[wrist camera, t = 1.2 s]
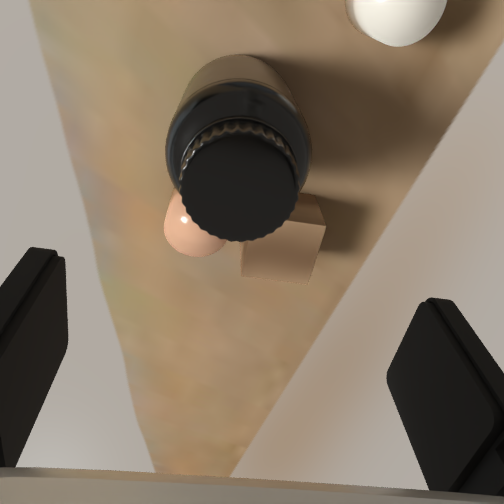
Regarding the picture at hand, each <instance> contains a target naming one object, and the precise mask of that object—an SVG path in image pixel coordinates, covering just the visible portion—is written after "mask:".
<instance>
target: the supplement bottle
mask: <svg viewBox="0 0 504 504" xmlns="http://www.w3.org/2000/svg"><path fill="white" fill-rule="evenodd" d="M165 157H166V165H167V169H168V173H169V176H170V178H171V181H172V183H173V185H174V187H175V188H176V190H177V191H178V193H179V194H180V195H181V197H182V204H183V205H184V206H185V207H186V213H187V214H188V215H190V216H191V219H192V222H194V223H196V224H197V225H198V226H199V228H200V229H201V230H204V231H207V233H208V234H209V235H212V236H216V237H218V238H219V239H226V240H228V241H231V242H232V241H239V242H244V241H247V240H249V241H254V240H255V239H257V238H264V237H265V236H266V235H267V234H271V233H273V232H274V231H275V230H276V229H277V228H279V227H282V225H283V223H284V221H286V220H288V219H289V217H290V213H291V212H293V211H294V209H295V203H296V202H297V201H298V199H299V196H298V194H299V192H300V191H301V189H302V187H303V186H304V184H305V182H306V179H307V177H308V174H309V171H310V166H311V160H312V145H311V139H310V134H309V131H308V127H307V125H306V122H305V120H304V118H303V116H302V114H301V112H300V110H299V108H298V106H297V104H296V102H295V100H294V98H293V96H292V94H291V92H290V90H289V88H288V86H287V84H286V83H285V81H284V80H283V78H282V77H281V76H280V75H279V74H278V72H277V71H275V70H274V69H273V68H272V67H271V66H269V65H268V64H266V63H265V62H263V61H261V60H259V59H257V58H254V57H250V56H245V55H229V56H224V57H221V58H218V59H215V60H213V61H211V62H210V63H208V64H206V65H205V66H204V67H202V68H201V69H200V70H199V71H198V72H197V73H196V74H195V75H194V77H193V78H192V79H191V81H190V83H189V84H188V86H187V88H186V90H185V92H184V94H183V97H182V99H181V101H180V103H179V106H178V108H177V110H176V112H175V115H174V117H173V119H172V121H171V124H170V127H169V130H168V134H167V138H166V146H165Z"/></svg>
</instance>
